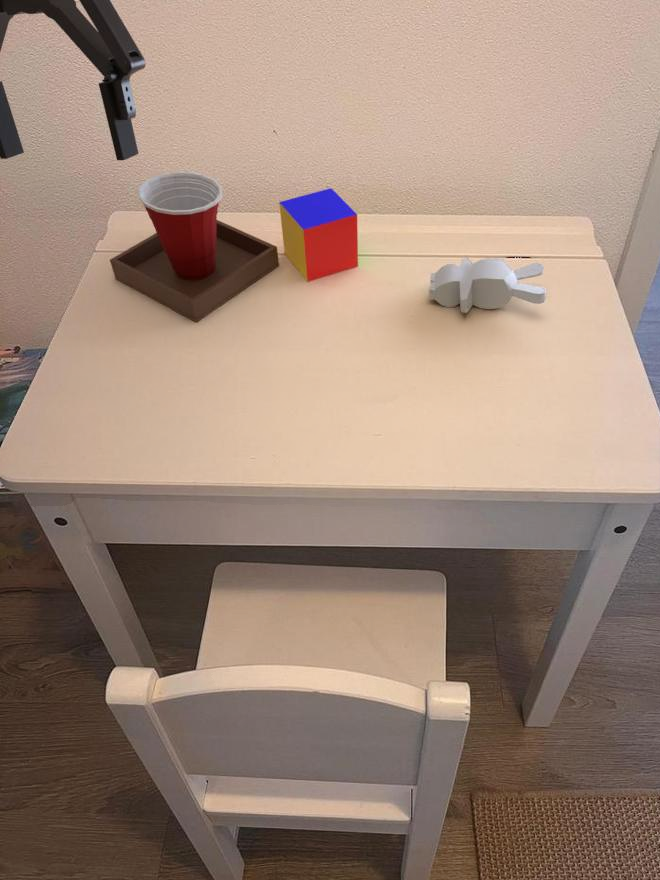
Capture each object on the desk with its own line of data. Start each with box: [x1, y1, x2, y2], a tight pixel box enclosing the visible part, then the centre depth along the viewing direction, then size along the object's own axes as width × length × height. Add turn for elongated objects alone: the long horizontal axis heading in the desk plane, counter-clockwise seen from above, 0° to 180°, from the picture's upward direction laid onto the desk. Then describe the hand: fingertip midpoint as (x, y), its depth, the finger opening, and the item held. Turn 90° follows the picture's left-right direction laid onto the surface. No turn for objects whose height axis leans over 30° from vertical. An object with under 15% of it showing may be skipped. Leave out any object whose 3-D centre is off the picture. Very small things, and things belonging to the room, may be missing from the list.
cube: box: [279, 187, 359, 282], centre depth 101 cm, size 8×8×8 cm
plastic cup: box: [137, 171, 223, 280], centre depth 97 cm, size 11×11×12 cm
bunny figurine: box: [429, 257, 547, 314], centre depth 96 cm, size 10×5×15 cm
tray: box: [109, 219, 280, 323], centre depth 101 cm, size 16×16×3 cm
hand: (68, 156), depth 72 cm, fingers open, 13 cm apart
